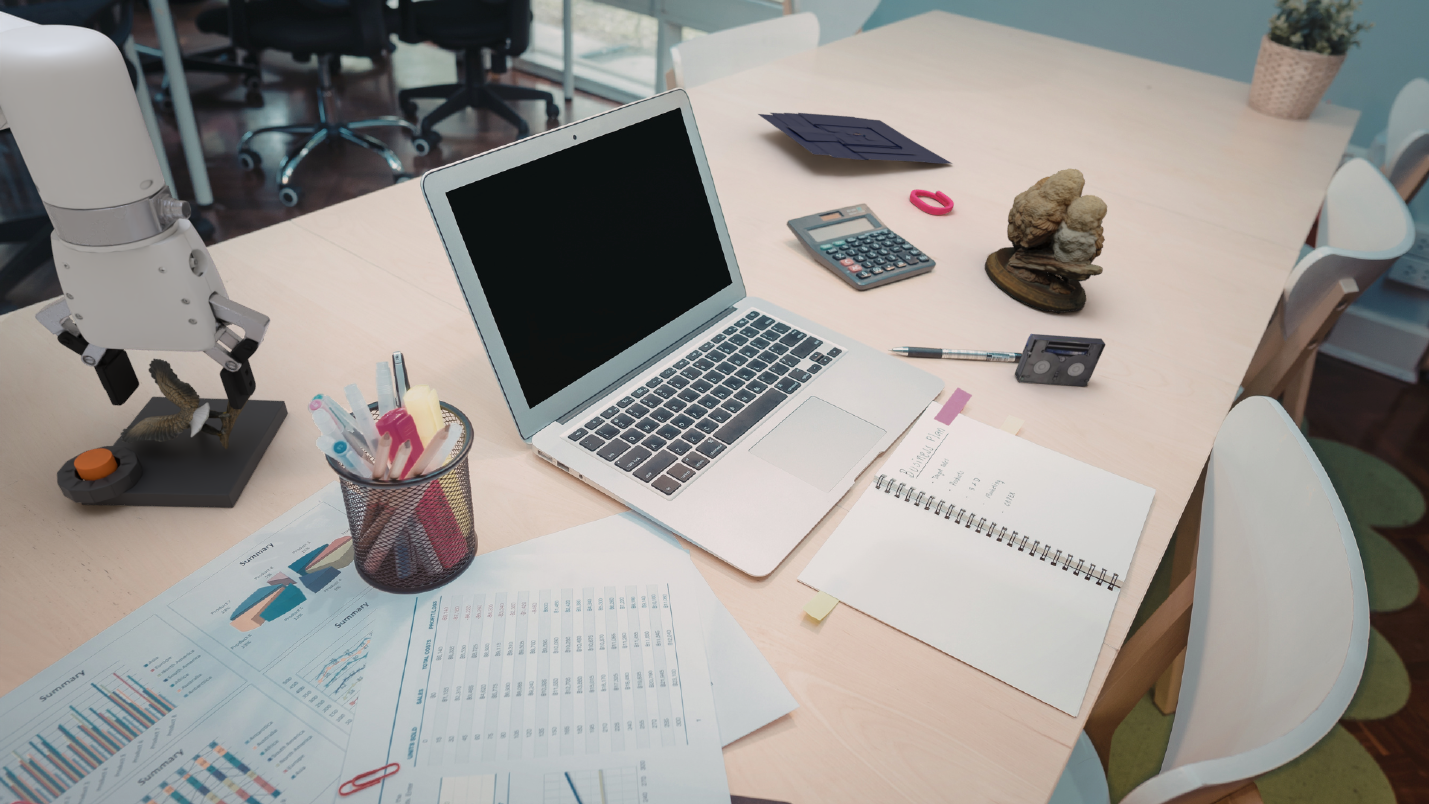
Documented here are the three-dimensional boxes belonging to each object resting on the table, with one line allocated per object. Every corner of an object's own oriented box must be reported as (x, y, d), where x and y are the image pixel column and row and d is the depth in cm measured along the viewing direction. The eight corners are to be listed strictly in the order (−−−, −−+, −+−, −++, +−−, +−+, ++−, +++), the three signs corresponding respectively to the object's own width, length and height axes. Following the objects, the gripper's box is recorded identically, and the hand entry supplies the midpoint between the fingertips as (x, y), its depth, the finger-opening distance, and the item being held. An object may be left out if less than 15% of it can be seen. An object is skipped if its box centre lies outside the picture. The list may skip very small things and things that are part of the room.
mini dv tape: (1081, 379, 96) (1100, 336, 92) (1086, 386, 95) (1105, 344, 91) (1014, 374, 96) (1030, 331, 92) (1018, 382, 94) (1034, 338, 91)
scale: (57, 516, 66) (41, 489, 65) (143, 408, 78) (133, 383, 76) (227, 519, 68) (217, 493, 66) (288, 413, 79) (281, 388, 77)
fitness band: (959, 214, 132) (962, 205, 131) (929, 217, 130) (932, 208, 129) (931, 194, 138) (933, 185, 137) (902, 196, 136) (904, 188, 135)
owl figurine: (1111, 315, 109) (1165, 195, 99) (1040, 324, 106) (1087, 200, 95) (1030, 253, 122) (1070, 142, 112) (964, 259, 119) (999, 145, 108)
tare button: (73, 481, 66) (66, 468, 65) (91, 459, 68) (84, 447, 67) (107, 481, 66) (101, 469, 66) (123, 460, 68) (118, 448, 68)
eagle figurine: (259, 408, 76) (157, 376, 75) (250, 371, 71) (139, 336, 69) (219, 479, 72) (110, 448, 71) (205, 447, 67) (86, 411, 65)
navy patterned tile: (749, 125, 154) (753, 105, 152) (875, 133, 167) (880, 115, 165) (814, 174, 137) (820, 153, 135) (948, 178, 150) (955, 159, 148)
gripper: (257, 198, 63) (305, 376, 74) (18, 184, 62) (102, 368, 72) (216, 241, 57) (274, 428, 68) (-50, 227, 56) (52, 422, 66)
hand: (185, 397), depth 70 cm, fingers open, 9 cm apart
